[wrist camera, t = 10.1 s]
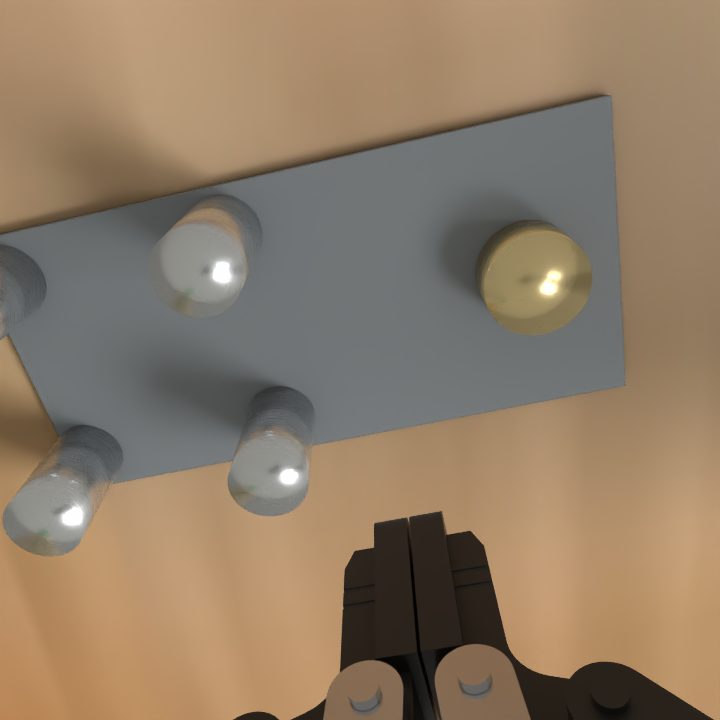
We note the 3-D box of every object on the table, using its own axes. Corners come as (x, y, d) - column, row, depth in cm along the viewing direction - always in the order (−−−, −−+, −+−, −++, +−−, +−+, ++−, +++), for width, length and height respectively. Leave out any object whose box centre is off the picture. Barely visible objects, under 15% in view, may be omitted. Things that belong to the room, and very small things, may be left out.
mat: (607, 94, 24) (611, 95, 23) (622, 381, 29) (625, 385, 28) (-31, 241, 26) (-36, 244, 26) (87, 483, 31) (84, 489, 31)
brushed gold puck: (570, 208, 25) (587, 221, 23) (580, 303, 27) (596, 322, 25) (467, 233, 26) (476, 247, 24) (483, 325, 27) (493, 345, 25)
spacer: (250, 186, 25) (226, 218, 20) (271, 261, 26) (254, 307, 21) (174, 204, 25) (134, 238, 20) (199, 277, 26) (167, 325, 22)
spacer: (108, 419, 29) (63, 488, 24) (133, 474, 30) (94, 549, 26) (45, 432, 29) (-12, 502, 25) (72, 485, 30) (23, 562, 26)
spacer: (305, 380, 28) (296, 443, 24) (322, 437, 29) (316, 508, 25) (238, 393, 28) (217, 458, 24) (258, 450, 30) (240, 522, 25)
